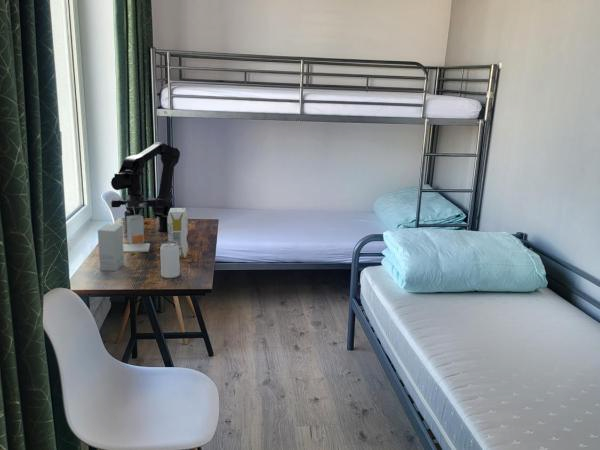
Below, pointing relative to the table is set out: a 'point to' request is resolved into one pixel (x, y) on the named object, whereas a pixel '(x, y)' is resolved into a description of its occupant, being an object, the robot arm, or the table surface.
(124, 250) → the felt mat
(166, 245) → the can
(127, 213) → the supplement bottle
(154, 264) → the table surface
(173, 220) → the juice carton
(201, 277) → the table surface
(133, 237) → the skincare box
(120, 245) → the skincare box
